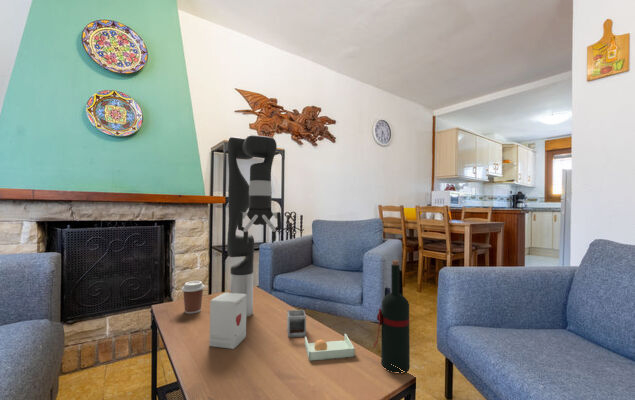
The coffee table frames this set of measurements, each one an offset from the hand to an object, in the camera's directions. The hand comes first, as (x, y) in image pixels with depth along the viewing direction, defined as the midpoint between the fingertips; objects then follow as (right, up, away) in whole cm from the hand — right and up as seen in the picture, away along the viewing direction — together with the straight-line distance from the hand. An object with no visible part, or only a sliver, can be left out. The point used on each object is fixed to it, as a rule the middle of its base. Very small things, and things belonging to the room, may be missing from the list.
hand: (259, 242), depth 95 cm
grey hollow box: (+12, -33, +6) cm, 36 cm away
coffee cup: (-34, -34, +27) cm, 55 cm away
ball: (+21, -31, -8) cm, 38 cm away
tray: (+23, -33, -6) cm, 41 cm away
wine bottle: (+41, -33, -14) cm, 54 cm away
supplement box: (-10, -33, 0) cm, 35 cm away
